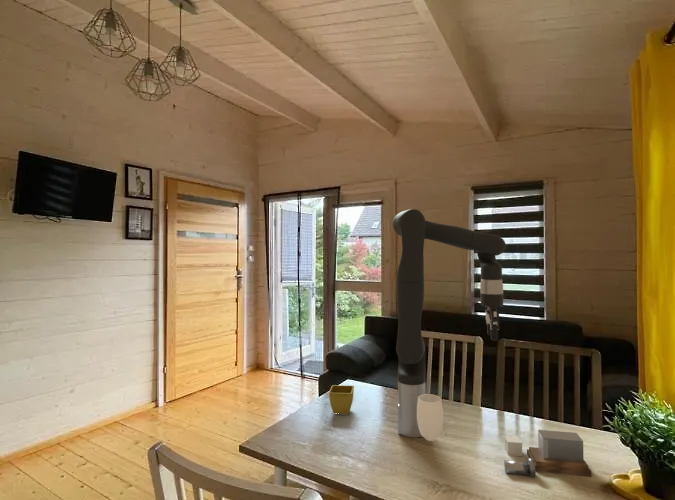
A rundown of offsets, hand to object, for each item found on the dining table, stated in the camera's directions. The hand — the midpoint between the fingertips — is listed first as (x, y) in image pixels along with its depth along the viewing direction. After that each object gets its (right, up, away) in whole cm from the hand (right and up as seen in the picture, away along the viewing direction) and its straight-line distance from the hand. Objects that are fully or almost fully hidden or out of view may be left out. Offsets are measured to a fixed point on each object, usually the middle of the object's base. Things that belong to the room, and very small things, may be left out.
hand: (492, 337), depth 138 cm
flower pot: (-53, -31, +12) cm, 63 cm away
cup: (-29, -31, -30) cm, 52 cm away
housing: (+8, -27, -27) cm, 40 cm away
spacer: (-2, -30, -20) cm, 36 cm away
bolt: (-6, -30, -31) cm, 44 cm away
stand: (+8, -30, -27) cm, 41 cm away
